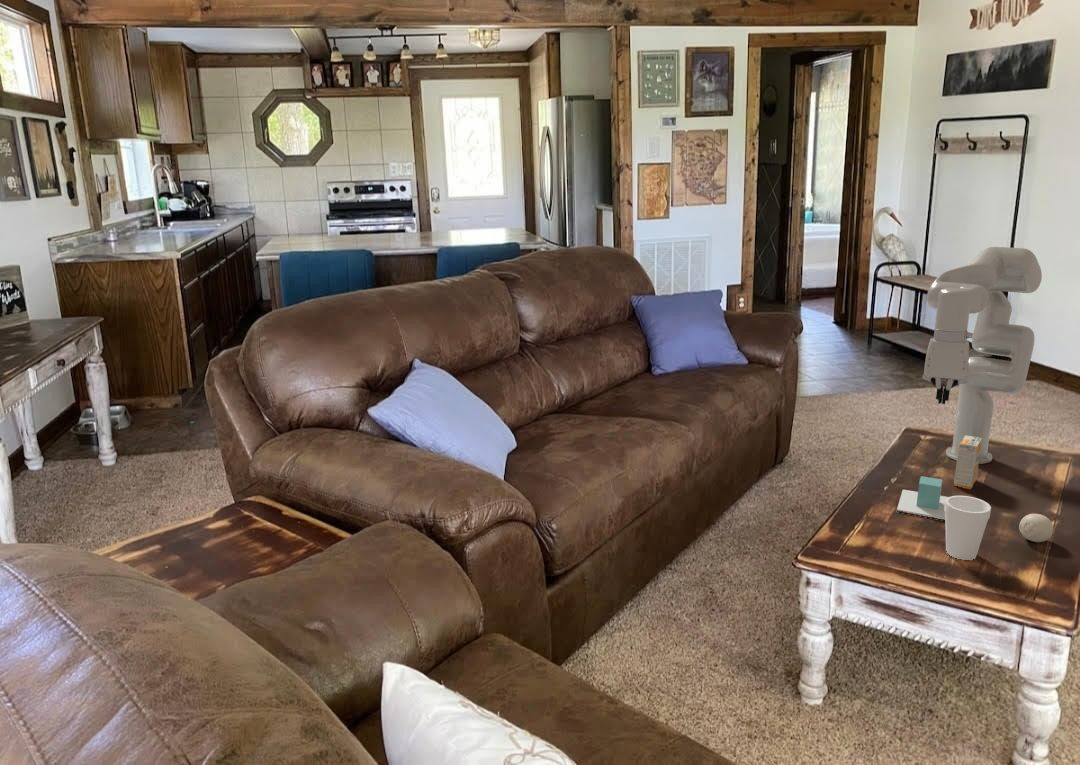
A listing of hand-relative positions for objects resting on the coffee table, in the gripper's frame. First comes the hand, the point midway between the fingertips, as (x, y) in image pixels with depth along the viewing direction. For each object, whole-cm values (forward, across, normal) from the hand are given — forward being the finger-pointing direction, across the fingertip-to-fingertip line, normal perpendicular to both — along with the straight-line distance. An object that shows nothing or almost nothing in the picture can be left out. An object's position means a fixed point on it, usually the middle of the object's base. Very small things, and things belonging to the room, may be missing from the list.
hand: (941, 402), depth 210 cm
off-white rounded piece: (+27, -24, +17) cm, 40 cm away
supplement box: (+27, -8, -13) cm, 31 cm away
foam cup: (+27, -9, +32) cm, 43 cm away
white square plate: (+27, 0, +8) cm, 28 cm away
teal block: (+26, 0, +8) cm, 27 cm away
